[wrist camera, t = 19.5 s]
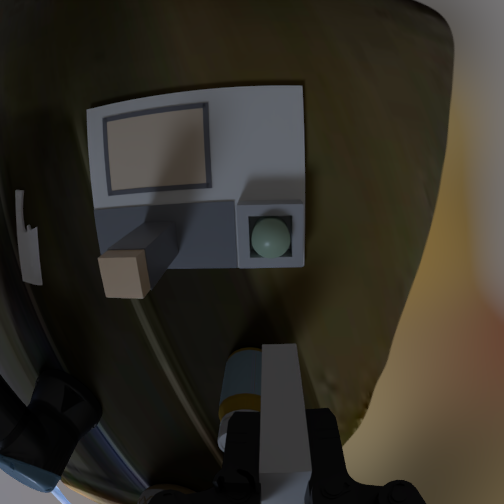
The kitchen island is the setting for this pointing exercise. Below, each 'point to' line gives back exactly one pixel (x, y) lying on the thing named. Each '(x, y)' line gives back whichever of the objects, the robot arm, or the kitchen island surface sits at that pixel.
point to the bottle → (240, 387)
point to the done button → (270, 236)
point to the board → (202, 171)
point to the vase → (157, 488)
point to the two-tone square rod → (138, 260)
